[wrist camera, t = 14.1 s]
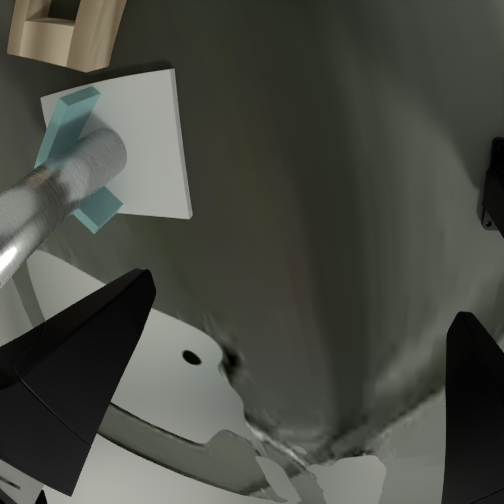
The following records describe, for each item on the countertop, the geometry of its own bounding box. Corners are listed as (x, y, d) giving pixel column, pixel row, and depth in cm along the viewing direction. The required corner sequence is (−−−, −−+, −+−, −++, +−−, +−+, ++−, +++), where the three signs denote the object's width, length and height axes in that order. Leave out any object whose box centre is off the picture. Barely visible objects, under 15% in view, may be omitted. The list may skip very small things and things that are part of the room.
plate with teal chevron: (174, 68, 18) (139, 77, 14) (192, 215, 24) (168, 246, 21) (45, 96, 20) (9, 110, 17) (72, 206, 27) (45, 229, 24)
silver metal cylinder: (103, 117, 20) (-68, 243, 9) (136, 157, 21) (-19, 307, 10) (79, 148, 22) (-64, 269, 11) (109, 183, 24) (-23, 320, 12)
